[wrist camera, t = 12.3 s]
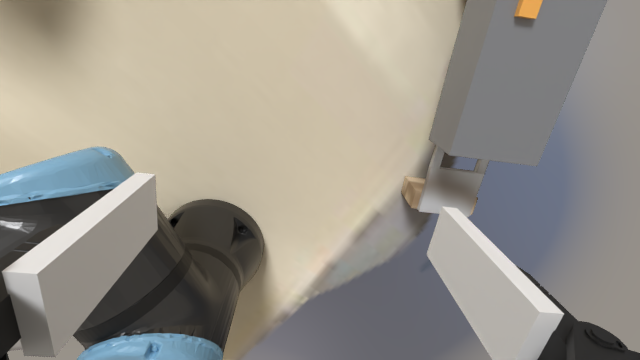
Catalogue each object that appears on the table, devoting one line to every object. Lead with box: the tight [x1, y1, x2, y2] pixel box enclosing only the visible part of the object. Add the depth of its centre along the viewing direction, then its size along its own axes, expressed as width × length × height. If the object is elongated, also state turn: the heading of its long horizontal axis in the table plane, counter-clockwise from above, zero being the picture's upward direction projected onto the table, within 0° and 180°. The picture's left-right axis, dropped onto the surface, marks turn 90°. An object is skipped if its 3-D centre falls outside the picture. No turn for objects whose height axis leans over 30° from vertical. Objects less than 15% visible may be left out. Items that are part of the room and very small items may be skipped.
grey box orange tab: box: [429, 0, 607, 166], centre depth 34 cm, size 16×9×12 cm, turn 172°
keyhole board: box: [401, 145, 489, 217], centre depth 38 cm, size 30×8×6 cm, turn 172°
